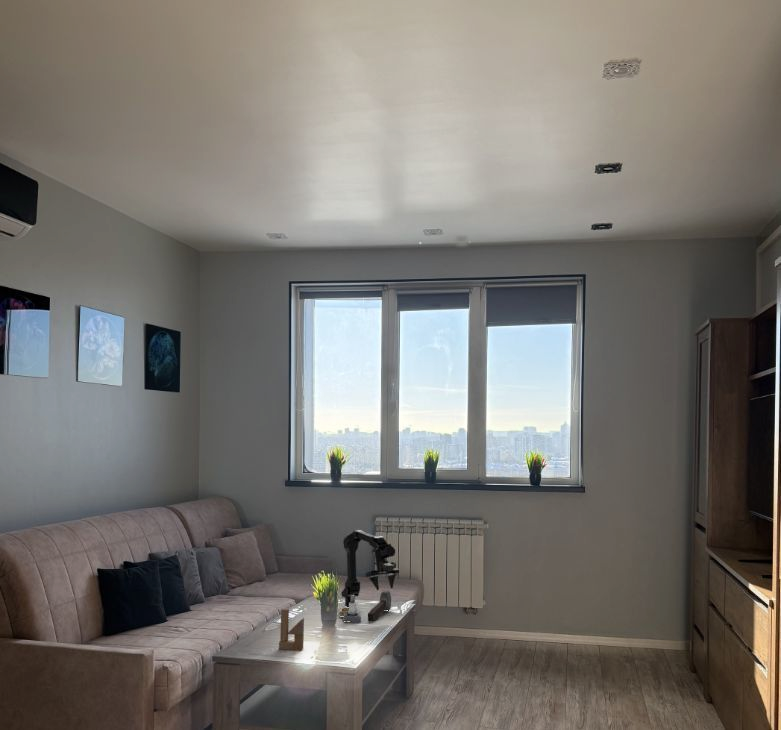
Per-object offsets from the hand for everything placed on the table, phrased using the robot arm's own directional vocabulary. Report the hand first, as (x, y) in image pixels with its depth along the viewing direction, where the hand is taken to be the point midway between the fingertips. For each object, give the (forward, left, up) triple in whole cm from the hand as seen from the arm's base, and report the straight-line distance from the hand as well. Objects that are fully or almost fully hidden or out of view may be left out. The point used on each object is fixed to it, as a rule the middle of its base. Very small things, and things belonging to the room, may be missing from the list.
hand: (385, 589), depth 427 cm
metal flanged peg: (+4, -17, -16) cm, 24 cm away
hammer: (-7, -3, -16) cm, 18 cm away
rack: (-6, -20, -16) cm, 26 cm away
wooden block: (+60, -44, -16) cm, 76 cm away
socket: (+4, -17, -16) cm, 24 cm away
